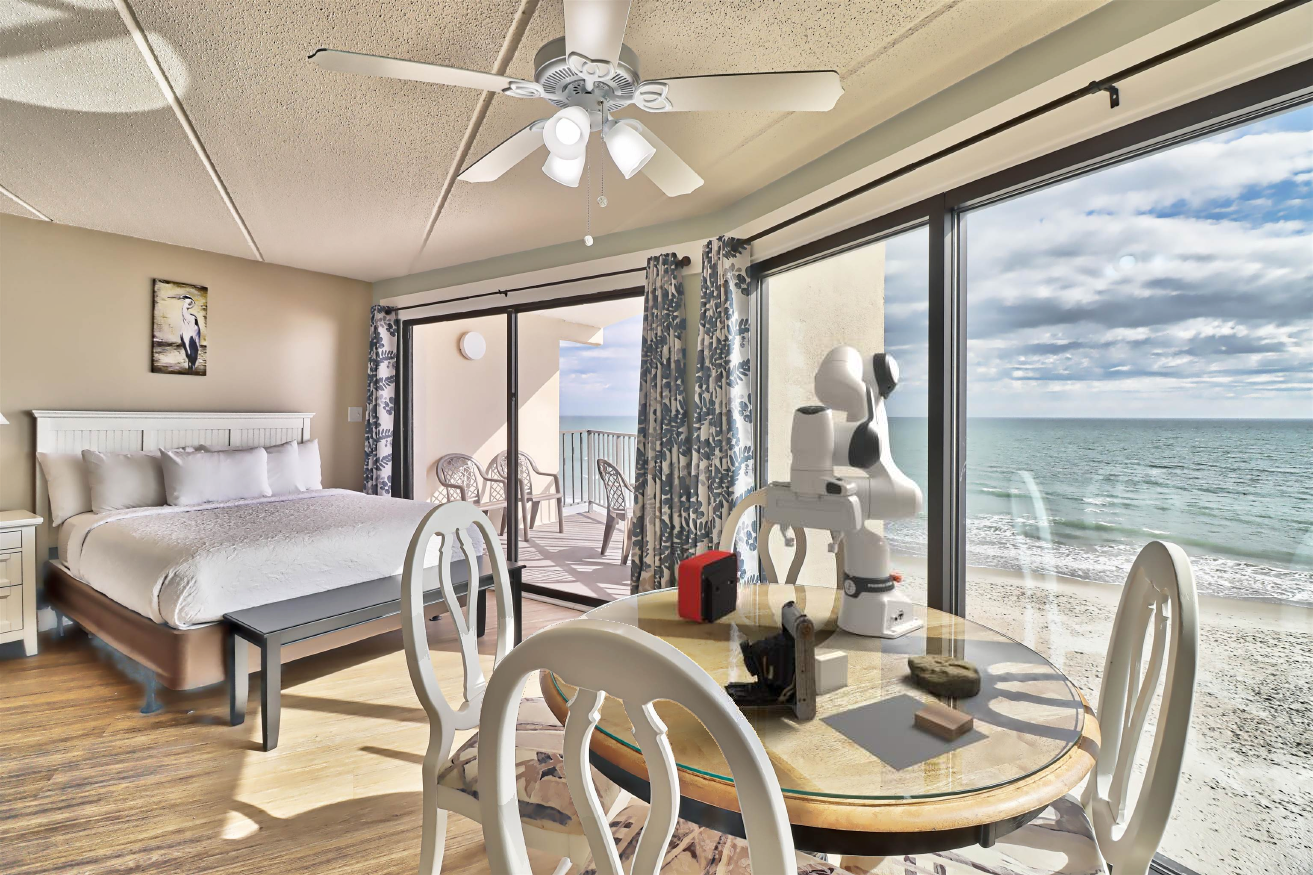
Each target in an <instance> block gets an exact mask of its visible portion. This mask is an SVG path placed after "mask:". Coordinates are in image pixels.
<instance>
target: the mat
mask: <svg viewBox="0 0 1313 875" xmlns="http://www.w3.org/2000/svg"><path fill="white" fill-rule="evenodd" d="M929 705H930V704H929ZM929 705H928V704H927V703H926V702H923V701H921V700H919V699H917V698H915V697H913V696H911V695H910V694H908V693H902V694H899V695H896V696H891V697H887V698H885V699H881V700H878V701H875V702H870V703H868V704H864V705H861V706H856V707H855V708H851V709H848V710H843V711H841V712H838V713H834V714H831V715H826V716H824V717H821V718H819V720H820V721H821V722H823V723H825V725H828V726H829V727H831V729H833V730H834V731H836V732H838V733H839V734H841V735H842V736H845V738H847V739H849V741H851V742H853V743H855V744H856V745H857V746H859V747H860V748H862V749H864V750H866V751H867V752H868V753H870V754H871V755H873V756H874V757H876V758H877V759H879V760H880V761H882V762H883V763H885V764H886V765H889V767H891V768H892V769H894V770H895V771H897V772H899V771H902V770H904V769H908V768H910V767H912V766H915V765H918V764H922V763H923V762H926V761H929V760H931V759H933V758H937V757H939V756H942V755H944V754H945V755H946V754H948V753H950V752H953V751H956V750H958V749H961V748H964V747H967V746H969V745H972V744H975V743H977V742H980V741H983V740H985V739H988V738H990V736H989V735H987V734H986V733H984V732H982V731H980V730H978V729H976V728H974V727H973V729H971V730H969V731H968V732H966V733H965V734H963V735H962V736H960V737H958V738H957V739H955V740H954V741H952V740H949V739H947V738H945V737H943V736H940V735H938V734H936V733H934V732H931V731H929V730H927V729H925V728H922V727H920V726H918V725H915V724H914V722H915V713H916V712H918V711H920V710H921V709H923V708H925V707H927V706H929Z"/></svg>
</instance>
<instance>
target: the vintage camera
mask: <svg viewBox="0 0 1313 875" xmlns="http://www.w3.org/2000/svg"><path fill="white" fill-rule="evenodd" d="M780 614H781V615H780V616H781V620H780V621H781V633H780V632H778V633H776V634H775V635H771V636H766V637H764V638H762V639H756V641H755V642H752V643H750V642H751V641H749V639H746V640H744V641H742V642H739V648H740V652H741V654H742V657H743V659H742V660H743V663H744V666H745V668H746V670H747V672H748V673H749V674H750V677H752V678H755V677H756V679H757V680H754V681H751V682H749V681H748V682H744V681H729V683H727V685H723V688H724V690H725V692H727V693H726V695H727V694H728V695H729V696H730V697H731V698H732V699H733V701H734V702H735V704H736V705H737V706H738V707H739V708H742V707H743V708H751V707H752V708H757V707H758V708H759V707H760V708H762V707H765V708H766V707H781V706H782V707H786V706H787V707H788V706H789V707H791V708H792V710H793V712H794V713H795V714H796V716H797V717H798V719H799V720H800V721H807V720H809V721H810V720H814V719H815V717H816V715H817V693H816V681H815V657H816V656H815V655H816V653H815V652H816V651H815V625H814V623H813V620H811V618H810V617H809V616H808V615H807V614H806V613H805V612H804V611H803V610H802V609H801V607H799V605H798V604H797V603H795V601H794V600H789V601H788V602H785V603H784V604H783V606H781V612H780ZM728 695H727V696H728ZM738 707H737V708H738Z"/></svg>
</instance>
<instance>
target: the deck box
mask: <svg viewBox="0 0 1313 875" xmlns="http://www.w3.org/2000/svg"><path fill="white" fill-rule="evenodd" d="M848 656H849V655H848V653H846V652H845V651H842V650H839V651H835V652H830V653H826V654H822V655H817V656H815V681H816V694H818V695H819V696H823V695H827V694H830V693H833V692H836V691H837V692H838V691H840V690H842V689H844V688H846V687H848V667H849V665H848V664H849V663H848V662H849V660H848Z"/></svg>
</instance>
